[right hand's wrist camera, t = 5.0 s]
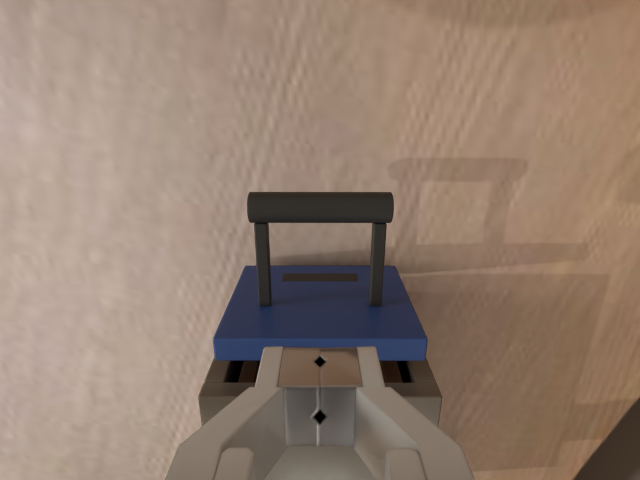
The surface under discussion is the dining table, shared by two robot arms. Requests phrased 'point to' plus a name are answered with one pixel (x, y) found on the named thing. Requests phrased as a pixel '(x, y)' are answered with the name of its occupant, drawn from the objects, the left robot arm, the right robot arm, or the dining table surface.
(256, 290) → the drawer
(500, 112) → the dining table surface
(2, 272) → the dining table surface
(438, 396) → the metal storage bin
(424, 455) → the right robot arm
